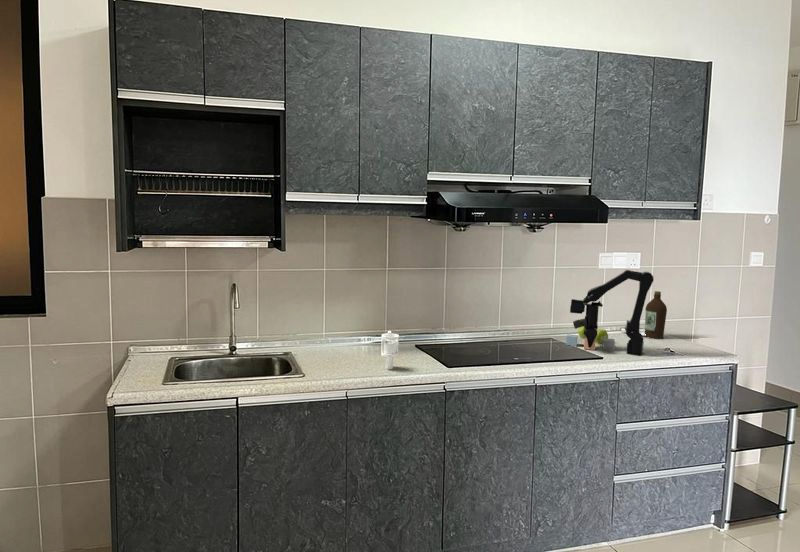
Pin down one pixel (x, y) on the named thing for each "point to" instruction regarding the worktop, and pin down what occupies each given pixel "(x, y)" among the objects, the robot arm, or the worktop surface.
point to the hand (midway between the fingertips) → (589, 346)
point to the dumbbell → (599, 338)
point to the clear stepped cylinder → (389, 348)
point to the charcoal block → (608, 344)
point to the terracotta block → (587, 344)
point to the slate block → (571, 340)
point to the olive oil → (655, 317)
